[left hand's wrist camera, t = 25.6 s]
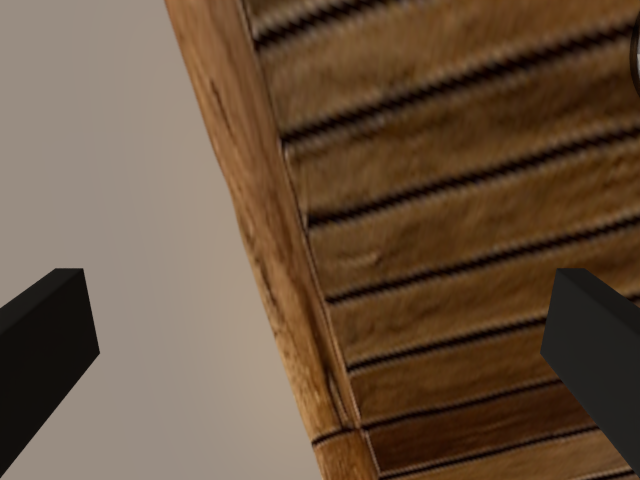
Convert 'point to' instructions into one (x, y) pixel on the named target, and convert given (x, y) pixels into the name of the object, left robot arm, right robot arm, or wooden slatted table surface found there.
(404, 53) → the wooden slatted table surface
